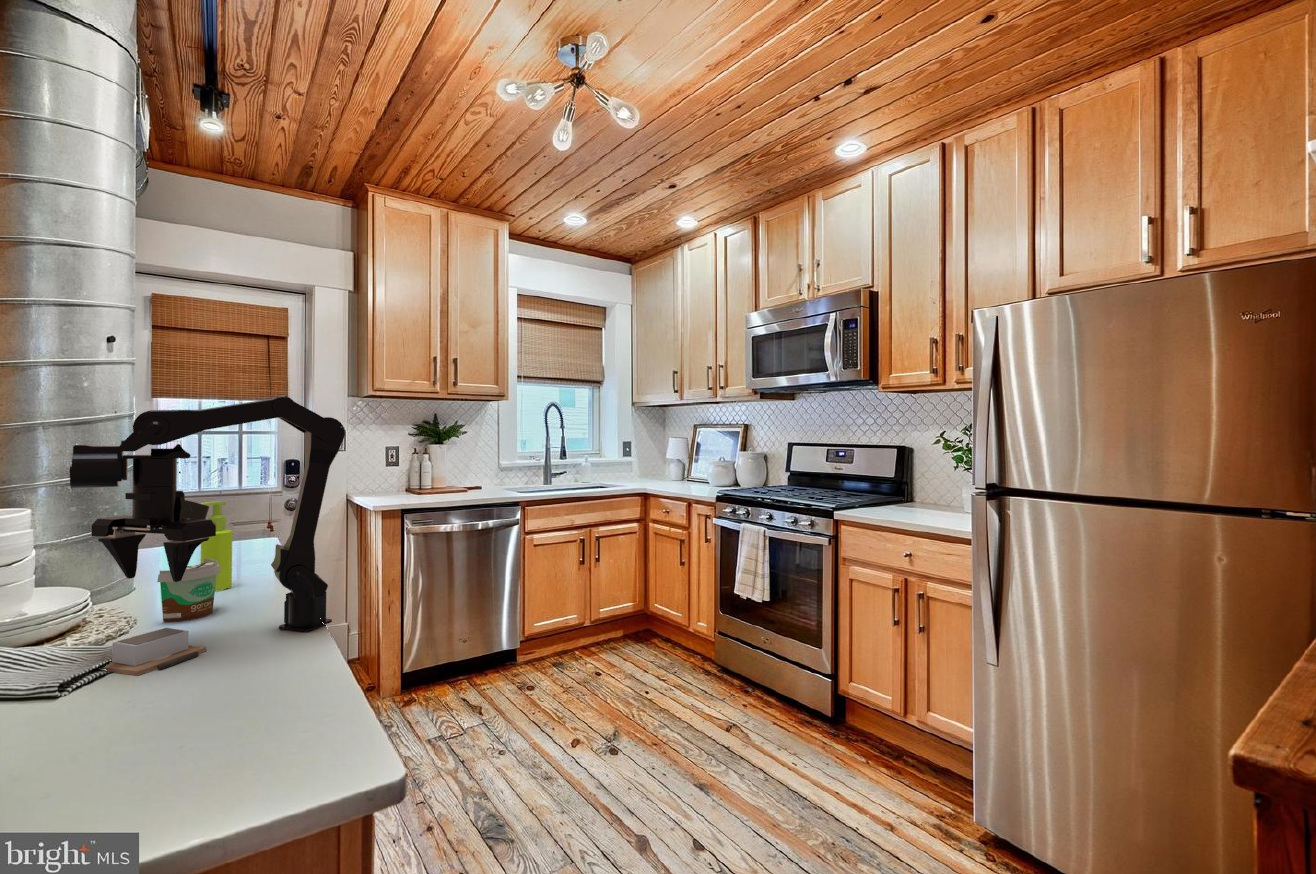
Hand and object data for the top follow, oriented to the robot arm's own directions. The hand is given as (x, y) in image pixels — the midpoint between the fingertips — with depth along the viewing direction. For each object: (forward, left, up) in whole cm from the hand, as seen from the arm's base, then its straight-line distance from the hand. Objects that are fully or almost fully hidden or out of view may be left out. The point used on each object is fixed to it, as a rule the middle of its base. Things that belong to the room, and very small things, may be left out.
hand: (154, 579), depth 105 cm
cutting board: (-4, +4, -12) cm, 13 cm away
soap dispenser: (+26, -34, -12) cm, 45 cm away
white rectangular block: (-4, +4, -11) cm, 12 cm away
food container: (+11, -17, -12) cm, 24 cm away
